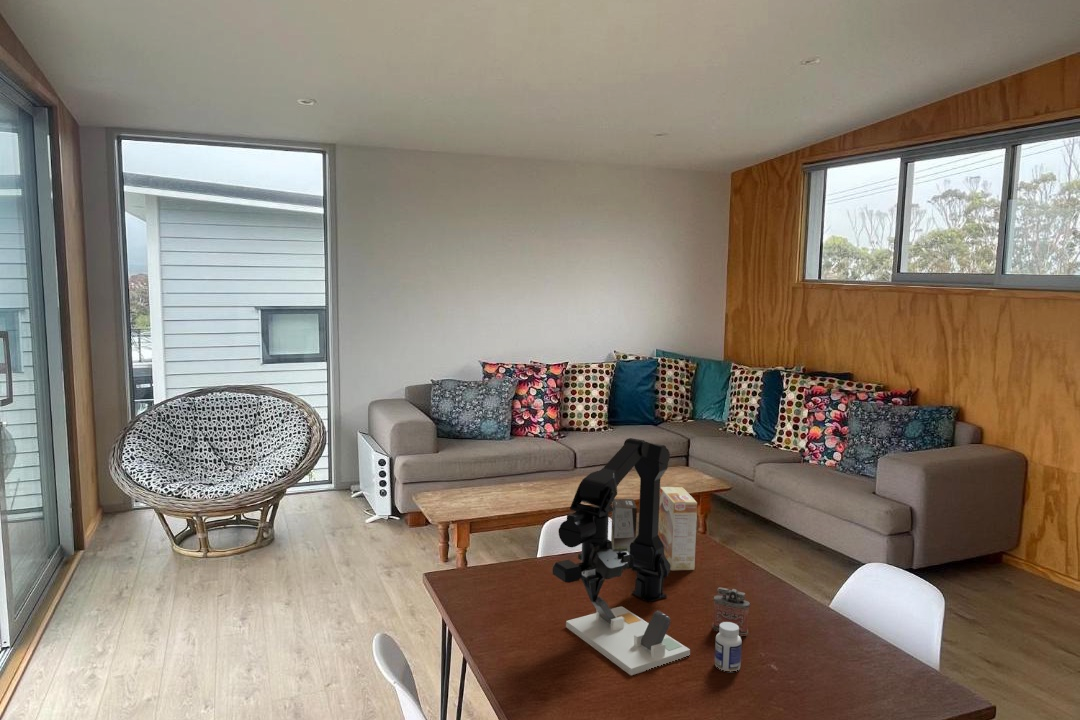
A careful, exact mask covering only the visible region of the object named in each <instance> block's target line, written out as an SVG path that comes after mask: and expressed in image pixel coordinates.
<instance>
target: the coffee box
mask: <svg viewBox="0 0 1080 720" xmlns="http://www.w3.org/2000/svg"><path fill="white" fill-rule="evenodd" d="M611 505H612V506H611V507H612V508H613V511H611V535H610V536H611V538H610V541H611V543H612V550H615V549H619V548H620V549H622V550H624V551H627V552H628V553H629V554H630V544H631V543H632V542H633V541H634V540H635V539H636V537H637V518H638V516H637V515H638V507H637V505H636V502H635V500H634V498H614V500H613V502H612V504H611Z"/></svg>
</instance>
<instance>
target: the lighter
mask: <svg viewBox="0 0 1080 720" xmlns="http://www.w3.org/2000/svg"><path fill="white" fill-rule="evenodd" d="M716 593H717V595H715V596H713V602H714V604H713V606H714V609H713V621H712V622H713V623H712V628H713V629H714V630H713V629H712V628H711V629H712V630H713V631H715V630H717V631H716V632H718V631H719V625H720V623H722V622H732V623H735V624H737V625H738V626H739V635H747V634H748V635H749V630H748V629H749V628H748V625H749V612H750V611H749V608H750V606H751V605H750V602H749V601H747V600H745V597H746V593H745V592H742V591H738V590H737V589H736V588H732V589H729V588H725V587H718V588H717V592H716Z"/></svg>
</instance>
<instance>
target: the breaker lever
mask: <svg viewBox="0 0 1080 720" xmlns="http://www.w3.org/2000/svg"><path fill="white" fill-rule="evenodd" d="M590 602H591V603H592V605H593V606H594V608H595V609H596V610H597V611H598V613H599V614H600V616H601V617H602V619H604V620H605V621H607V622H608V623H610V624H611V619H614V618H616V617H615V616H614V614H613V613H612V611H611V609H612V608H610V606H609V605H608V604H607V603H608V602H606V601H605V599H603V598H602V597H601V596H599V595H598V596H597V599H596V601H595V602H592V601H591V600H590Z"/></svg>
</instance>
